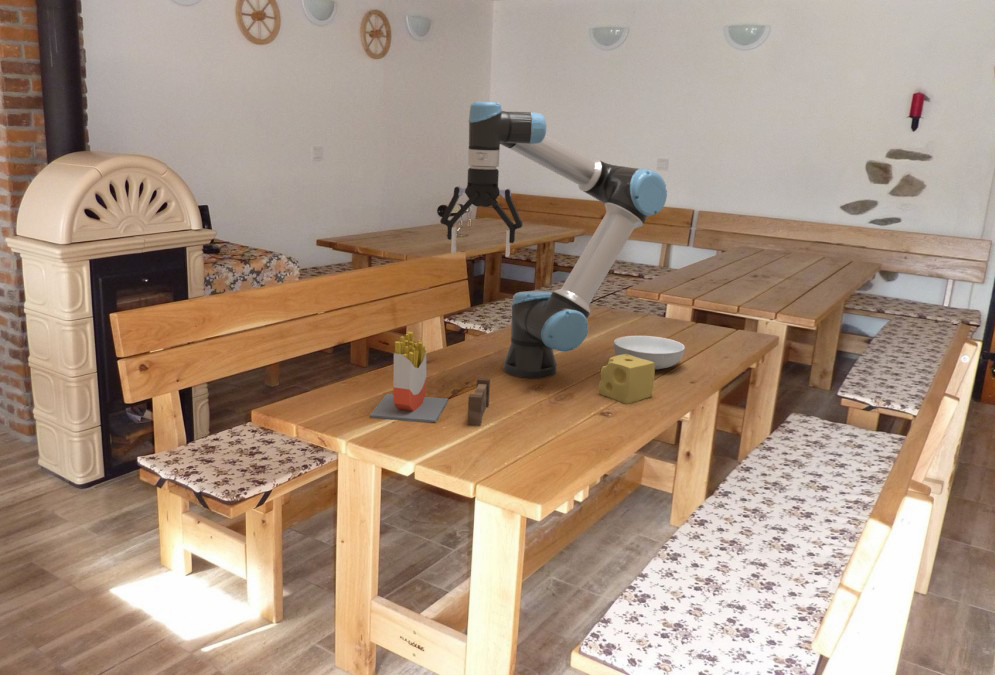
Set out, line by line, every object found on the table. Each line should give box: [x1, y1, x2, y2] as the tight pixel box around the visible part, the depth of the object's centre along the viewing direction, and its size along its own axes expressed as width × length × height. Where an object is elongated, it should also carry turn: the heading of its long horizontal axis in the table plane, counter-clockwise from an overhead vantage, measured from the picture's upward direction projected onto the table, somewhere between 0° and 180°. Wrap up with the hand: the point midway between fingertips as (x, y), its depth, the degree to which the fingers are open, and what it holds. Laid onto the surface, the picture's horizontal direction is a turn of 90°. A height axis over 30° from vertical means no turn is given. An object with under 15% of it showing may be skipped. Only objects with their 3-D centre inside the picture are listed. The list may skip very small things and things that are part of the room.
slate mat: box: [369, 393, 449, 424], centre depth 204 cm, size 16×16×1 cm
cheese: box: [597, 354, 656, 405], centre depth 219 cm, size 10×11×10 cm
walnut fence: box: [467, 376, 491, 427], centre depth 201 cm, size 15×3×7 cm, turn 173°
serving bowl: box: [613, 335, 686, 371], centre depth 247 cm, size 21×21×7 cm
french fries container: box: [392, 331, 427, 411], centre depth 201 cm, size 5×11×18 cm, turn 163°
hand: (480, 254), depth 207 cm, fingers open, 13 cm apart
